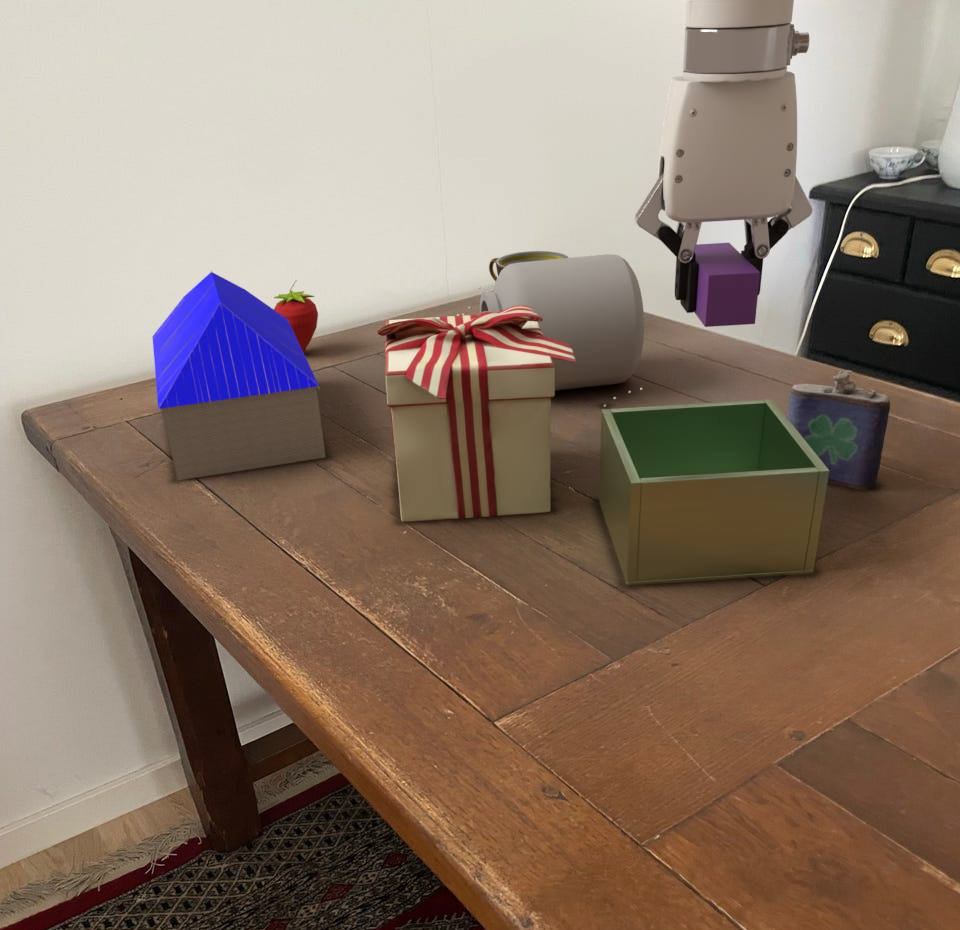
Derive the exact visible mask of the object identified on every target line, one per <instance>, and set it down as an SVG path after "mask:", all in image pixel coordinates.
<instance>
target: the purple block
mask: <svg viewBox="0 0 960 930" xmlns="http://www.w3.org/2000/svg"><path fill="white" fill-rule="evenodd" d="M740 253H741V252H740V251H739V250H738V249H737V248H735V247H734V246H733V245H732V244H731V243H730V242H717V243H715V242H713V243H699V244H696V248H695V254H696V257H695V260H696V261H697V263H698V264H699V272H698V286H697V301H696V310H695V311H694V312H693V313H694V314H695V315H696V316H697V318H698V319H699V321H700V323H702V325H703V326H704V327H705V328H708V327H711V328H712V327H728V326H742V325H743V326H745V325H755V324H756V317H757V310H758V309H757V307H758V298H759V295H758V289H759V279H760V272H759V271H758V270H757V269H756V268H755V267H754V266H753V265H752V264H751V263H750V262H749V261H748V260H747V259H746V258H745V257H744V256H742V255H741V254H740Z"/></svg>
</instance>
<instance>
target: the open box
mask: <svg viewBox="0 0 960 930" xmlns="http://www.w3.org/2000/svg"><path fill="white" fill-rule="evenodd" d="M600 412H601V413H600V447H599V448H600V451H599V492H598V495H599V496H598V497H599V498H598V503H599V506H600V510H601V512H602V515H603V517H604V522H605V524H606V527H607V530H608V533H609V536H610V539H611V542H612V546H613V548H614V551H615V554H616V557H617V560H618V563H619V566H620V569H621V572H622V575H623V578H624V582H625V584H626V586H638V585H640V586H641V585H654V584H656V585H657V584H670V583H685V582H686V583H687V582H700V581H701V582H702V581H715V580H718V581H719V580H732V579H745V578H748V579H749V578H761V577H764V578H765V577H777V576H778V577H779V576H793V575H809V574H811V575H812V574H814V569H815V564H816V558H817V552H818V545H819V538H820V531H821V525H822V521H823V520H822V519H823V513H824V507H825V501H826V495H827V489H828V483H829V482H828V476H829V470H828V468H827V467H826V466H825V465H824V463H823V462H822V461H821V460H820V458H819V457H818V456H817V455H816V453H815V452H814V451H813V450H812V448H811V447H810V446H809V445H808V443H807V442H806V441H805V440H804V438H803V437H802V436H801V435H800V433H799V432H798V431H797V430H796V428H795V427H794V426H793V425H792V424H791V422H790V421H789V420H788V419H787V417H788V416H787V415H785V413H784V412H783V411H782V410H781V409H780V406H778V405H777V403H776V402H775V401H774V399H772V398H767V399H753V400H752V399H751V400H750V399H749V400H737V401H734V400H733V401H720V402H719V401H718V402H705V403H703V402H702V403H688V404H686V403H685V404H671V405H670V404H669V405H654V406H637V407H624V408H623V407H622V408H604V409H601V410H600Z"/></svg>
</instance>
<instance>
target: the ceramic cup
mask: <svg viewBox="0 0 960 930" xmlns="http://www.w3.org/2000/svg"><path fill="white" fill-rule="evenodd" d="M563 258H571V257H570V256H569V255H567V254H564V253H561V252H555V251H547V250H529V251H519V252H512V253H508V254H505V255H502V256H500V257H494V258H492V259H491V260H490V261H489V265H488V271H489V274H490V276H491V278H492V279H493V281H494V282H496V280H497V278H498V276H499V274H500V272H501V270H503V269H504V268H505V267H506V266H507V265H509V264H513V263H519V262H530V261H541V260H552V259H563ZM494 265H495V267H496V273H497V275H496V273H495V271H494Z"/></svg>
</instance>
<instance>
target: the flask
mask: <svg viewBox="0 0 960 930" xmlns="http://www.w3.org/2000/svg"><path fill="white" fill-rule="evenodd" d="M851 374H853V371H852V370H843V371H841V370H839V371H838V374H837V375H833V377H832V378H833V380H834V384H835V385H834V386H831V385H830V386H829V385H822V384H814V383H797V384H795V385H793V386H791V388H790V391H789V403H788V412H787V416H786V417H787V419H788V420H789V421H790V422H791V424H792V425H793V426H794V427H795V428H796V430H797V431H798V432H799V433H800V435H801V436H802V437H803V438H804V440H805V441H806V442H807V443H808V445H809V446H810V447H811V448H812V450H813V451H814V452H815V453H816V455H817V456H818V457H819V458H820V460H821V461H822V462H823V463H824V465H825V466H826V467H827V468H828V470H829V476H828V482H827V483H832V484H837V485H841V486H845V487H849V488H853V489H856V490H864V491H866V490H867V491H868V490H872V489H874V488H875V487H876V484H877V481H878V476H879V472H880V468H881V467H880V466H881V461H882V454H883V450H884V443H885V436H886V432H887V428H888V421H889V414H890V410H891V402H890V398H889V397H888V395H886V394H884V393H878V392H877V391H876V390H875V389H872V388H867V390H865V389H864V388H862V387H858V385H857V384H856V383H855V381H851V380H850V379H849V378H850V375H851Z"/></svg>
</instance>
